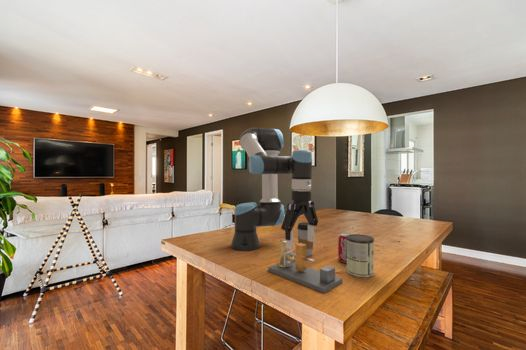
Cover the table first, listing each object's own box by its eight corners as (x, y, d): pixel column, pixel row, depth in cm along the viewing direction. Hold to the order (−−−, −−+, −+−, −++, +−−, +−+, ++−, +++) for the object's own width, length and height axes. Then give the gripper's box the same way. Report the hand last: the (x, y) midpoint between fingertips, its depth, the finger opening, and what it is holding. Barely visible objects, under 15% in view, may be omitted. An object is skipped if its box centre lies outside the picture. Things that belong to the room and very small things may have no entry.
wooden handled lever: (283, 266, 99) (283, 242, 99) (292, 263, 103) (292, 240, 103) (310, 276, 90) (311, 249, 90) (319, 272, 94) (319, 246, 94)
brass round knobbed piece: (275, 265, 103) (275, 241, 103) (283, 262, 107) (283, 239, 107) (290, 271, 97) (291, 245, 97) (298, 267, 101) (299, 243, 101)
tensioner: (319, 281, 88) (319, 268, 88) (327, 277, 91) (327, 265, 91) (327, 284, 86) (327, 271, 86) (334, 280, 89) (335, 267, 89)
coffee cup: (314, 258, 117) (314, 226, 117) (296, 256, 119) (296, 225, 119) (314, 252, 125) (314, 222, 125) (297, 251, 127) (297, 221, 127)
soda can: (357, 263, 110) (357, 236, 110) (342, 264, 109) (342, 236, 109) (349, 258, 117) (349, 232, 117) (335, 258, 116) (335, 233, 116)
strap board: (268, 270, 101) (268, 267, 101) (287, 263, 109) (287, 260, 109) (324, 293, 82) (324, 288, 82) (342, 282, 91) (342, 278, 91)
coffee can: (345, 266, 107) (345, 233, 107) (370, 268, 104) (371, 234, 104) (347, 276, 97) (347, 239, 97) (376, 278, 94) (376, 241, 94)
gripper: (287, 192, 85) (287, 254, 86) (327, 189, 103) (326, 240, 103) (272, 191, 91) (271, 249, 91) (312, 188, 108) (311, 237, 108)
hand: (300, 244), depth 97 cm, fingers open, 13 cm apart
